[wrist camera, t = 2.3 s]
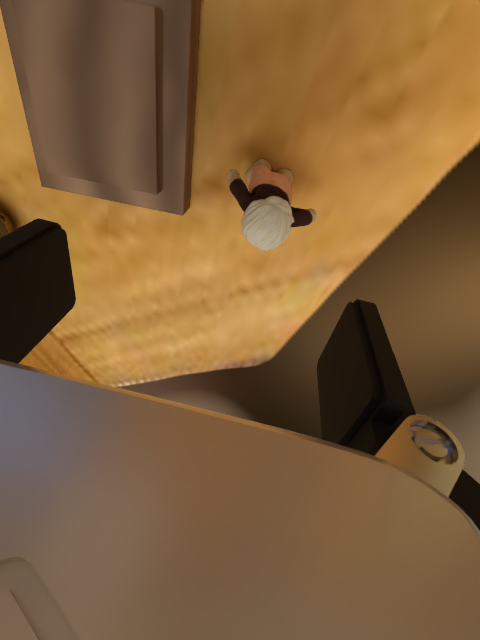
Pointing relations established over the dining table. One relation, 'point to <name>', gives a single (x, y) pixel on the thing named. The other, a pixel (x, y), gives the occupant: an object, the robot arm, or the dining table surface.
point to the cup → (5, 224)
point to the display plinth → (173, 112)
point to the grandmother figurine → (267, 205)
